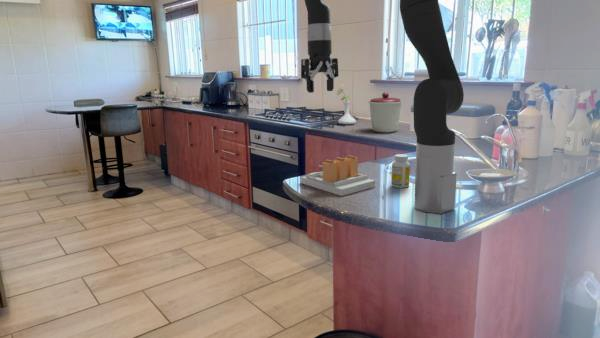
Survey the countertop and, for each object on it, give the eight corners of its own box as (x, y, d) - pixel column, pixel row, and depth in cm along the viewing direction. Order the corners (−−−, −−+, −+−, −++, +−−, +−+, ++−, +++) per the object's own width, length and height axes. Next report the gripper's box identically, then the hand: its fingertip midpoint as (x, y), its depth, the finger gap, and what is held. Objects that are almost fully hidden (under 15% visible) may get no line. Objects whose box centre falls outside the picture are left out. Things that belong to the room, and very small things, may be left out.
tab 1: (336, 181, 132) (336, 160, 130) (329, 183, 130) (328, 161, 128) (330, 179, 134) (329, 158, 133) (322, 181, 132) (322, 160, 131)
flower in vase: (346, 122, 276) (346, 82, 270) (360, 124, 267) (360, 82, 261) (332, 124, 268) (331, 83, 262) (345, 126, 259) (345, 84, 253)
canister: (407, 130, 237) (409, 91, 232) (390, 135, 224) (390, 94, 219) (379, 128, 249) (380, 91, 244) (361, 132, 236) (361, 93, 231)
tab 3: (357, 176, 137) (357, 155, 135) (350, 177, 135) (350, 157, 134) (351, 174, 139) (351, 154, 138) (344, 176, 138) (344, 155, 136)
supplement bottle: (394, 188, 131) (395, 157, 128) (389, 183, 136) (389, 154, 134) (411, 187, 131) (412, 156, 129) (405, 183, 136) (406, 153, 134)
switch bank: (374, 186, 133) (375, 176, 132) (341, 196, 125) (341, 184, 124) (333, 175, 148) (333, 165, 147) (301, 183, 140) (301, 172, 139)
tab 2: (347, 178, 134) (347, 158, 133) (340, 180, 133) (340, 159, 131) (340, 176, 137) (340, 156, 135) (333, 178, 135) (333, 158, 133)
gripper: (310, 38, 129) (312, 93, 133) (343, 39, 138) (344, 90, 142) (294, 40, 134) (296, 92, 138) (327, 40, 143) (328, 90, 147)
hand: (320, 91), depth 140 cm, fingers open, 8 cm apart
